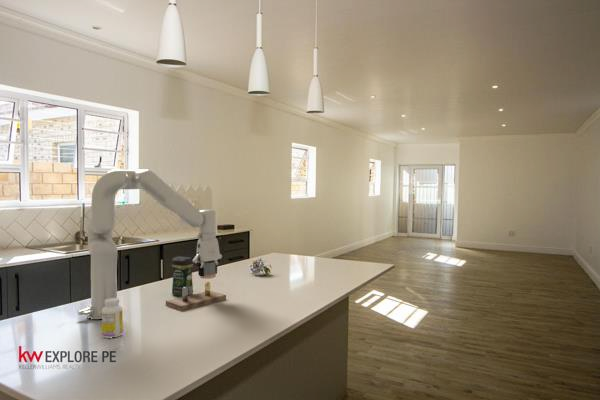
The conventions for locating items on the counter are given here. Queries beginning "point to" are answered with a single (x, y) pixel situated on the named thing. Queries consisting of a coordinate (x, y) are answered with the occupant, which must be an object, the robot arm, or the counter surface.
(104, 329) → the supplement bottle
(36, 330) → the counter surface
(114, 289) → the robot arm
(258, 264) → the passion flower
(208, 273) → the sleeve
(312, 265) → the counter surface
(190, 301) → the pin board
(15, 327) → the counter surface
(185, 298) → the pins
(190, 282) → the coffee jar
